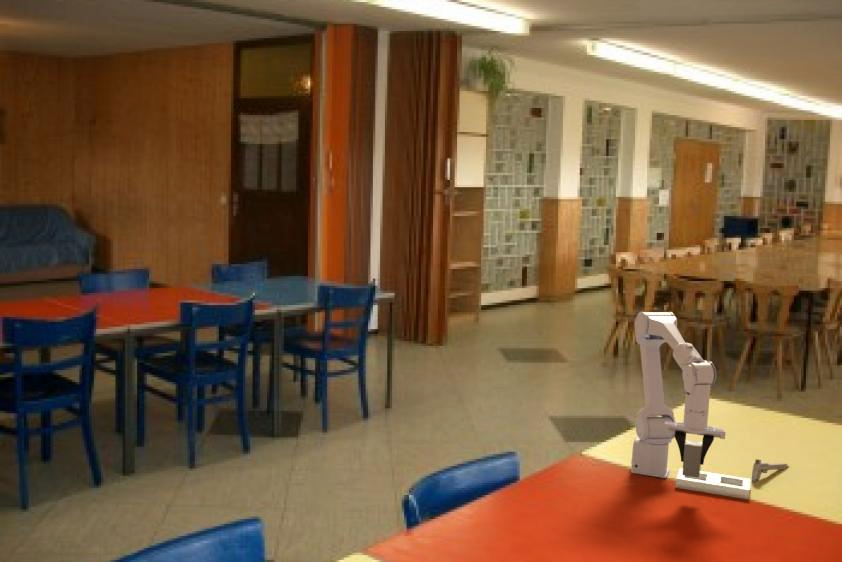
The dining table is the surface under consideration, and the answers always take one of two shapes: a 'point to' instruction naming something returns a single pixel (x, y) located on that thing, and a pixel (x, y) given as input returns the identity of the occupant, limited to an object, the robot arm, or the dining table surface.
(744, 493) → the white slotted board
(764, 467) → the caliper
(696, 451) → the peg
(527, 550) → the dining table surface
